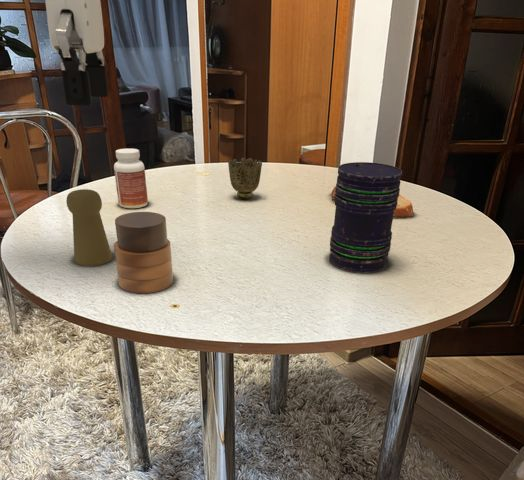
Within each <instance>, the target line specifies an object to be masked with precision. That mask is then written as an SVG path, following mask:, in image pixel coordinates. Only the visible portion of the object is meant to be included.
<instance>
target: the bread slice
mask: <svg viewBox="0 0 524 480" xmlns="http://www.w3.org/2000/svg"><path fill="white" fill-rule="evenodd" d="M335 188H336V185H335V186H334V187H333V189H332V191H331V198H332V199H333V200H334V198H335V194H336V193H335ZM397 202H398V204H397V207H396V209H395V210H394V215H393V218H399V219H400V218H401V219H402V218H411V217H413V216H414V215H415V211H414V207H413V203H412V200H409V199H408V198H406V197H405V196H403V195H402V194H400V193H399V197H398V201H397Z"/></svg>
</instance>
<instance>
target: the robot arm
mask: <svg viewBox="0 0 524 480" xmlns="http://www.w3.org/2000/svg"><path fill="white" fill-rule="evenodd" d="M44 2H45V8H46V11H45V12H46V19H47V28H48V35H49V36H48V37H49V43H50V47H51V48H52V50H54V51H55V52H56V53H58V56H59V57H60V58H59V59H60V60H59V65H60V69H61V76H62V77H61V78H62V83H63V90H64V96H65V97H64V98H65V103H66V104H67V105H68V106H79V107H81V106H84V107H85V106H86V107H89V106H91V105H92V104H93V102H92V98H93V97H94V98H107V97H109V90H108V89H109V88H108V80H107V71H106V65H105V57H104V53H103V51H104V50H103V49H104V47H105V32H104V31H105V30H104V21H103V19H104V18H103V11H102V1H101V0H44Z"/></svg>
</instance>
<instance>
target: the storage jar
mask: <svg viewBox="0 0 524 480" xmlns="http://www.w3.org/2000/svg"><path fill="white" fill-rule="evenodd" d="M337 174H338V175H337V176H336V183H335V186H336V188H335V193H336V194H335V198H334V199H333V201H334V205H335V209H334V220H333V225H332V227H331V231H330V232H331V233H330V239H329V252H330V254H329V255H328V262H329V263H330V264H331V265H332V266H333V267H335V268H337V269H339V270H342V271H345V272H350V273H357V274H371V273H377V272H380V271H382V270H384V269H385V268H387V265H388V257H389V254H390V251H391V246H392V239H393V232H392V227H393V220H394V217H393V215H394V210H395V209H396V207H397V204H398V202H397V201H398V197H399V194H400V191H401V179H402V175H403V170H402V169H401V168H398V167H397V166H394V165H390V164H386V163H378V162H370V161H369V162H368V161H357V162H355V161H354V162H346V163H342V164H339V166H337Z"/></svg>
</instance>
